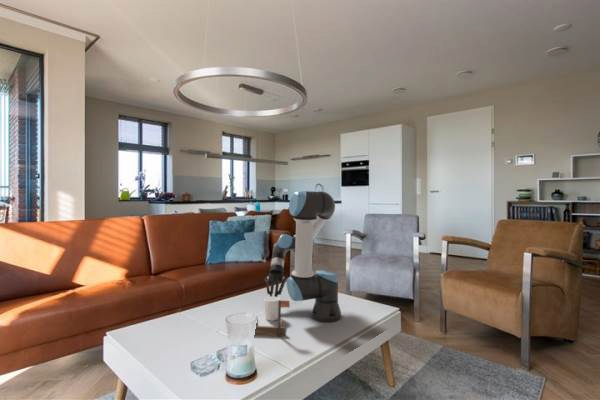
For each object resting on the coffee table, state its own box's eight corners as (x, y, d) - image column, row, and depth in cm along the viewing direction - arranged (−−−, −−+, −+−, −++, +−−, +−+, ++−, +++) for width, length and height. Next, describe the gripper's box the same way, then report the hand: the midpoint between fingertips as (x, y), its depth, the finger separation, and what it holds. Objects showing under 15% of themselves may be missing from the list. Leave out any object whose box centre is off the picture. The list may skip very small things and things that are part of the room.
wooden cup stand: (250, 324, 155) (250, 291, 155) (291, 326, 154) (291, 293, 154) (244, 335, 144) (244, 299, 143) (289, 337, 142) (289, 301, 142)
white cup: (282, 316, 166) (282, 297, 166) (276, 322, 159) (276, 302, 159) (268, 314, 169) (268, 295, 169) (261, 320, 161) (261, 300, 161)
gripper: (288, 271, 188) (285, 309, 172) (266, 270, 189) (261, 308, 173) (287, 264, 183) (284, 303, 166) (265, 263, 184) (259, 302, 167)
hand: (272, 306), depth 169 cm, fingers closed
